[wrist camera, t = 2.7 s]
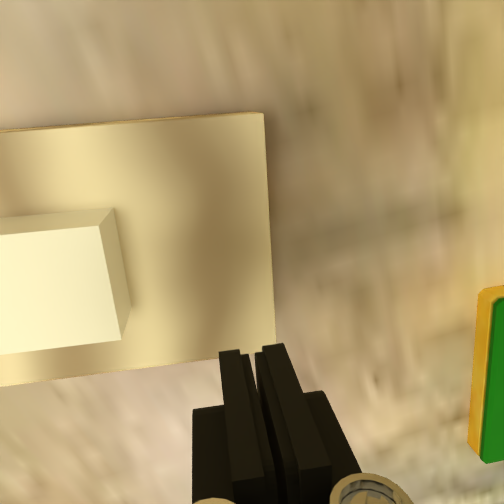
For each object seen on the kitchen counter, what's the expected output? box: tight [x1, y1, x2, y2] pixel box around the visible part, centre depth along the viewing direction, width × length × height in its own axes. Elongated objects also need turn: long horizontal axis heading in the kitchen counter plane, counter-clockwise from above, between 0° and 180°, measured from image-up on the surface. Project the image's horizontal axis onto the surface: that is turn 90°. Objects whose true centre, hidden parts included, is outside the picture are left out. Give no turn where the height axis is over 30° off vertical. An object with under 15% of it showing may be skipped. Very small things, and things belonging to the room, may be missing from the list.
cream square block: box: [0, 207, 132, 355], centre depth 18 cm, size 5×5×3 cm
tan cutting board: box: [0, 111, 276, 387], centre depth 22 cm, size 20×12×5 cm, turn 94°
